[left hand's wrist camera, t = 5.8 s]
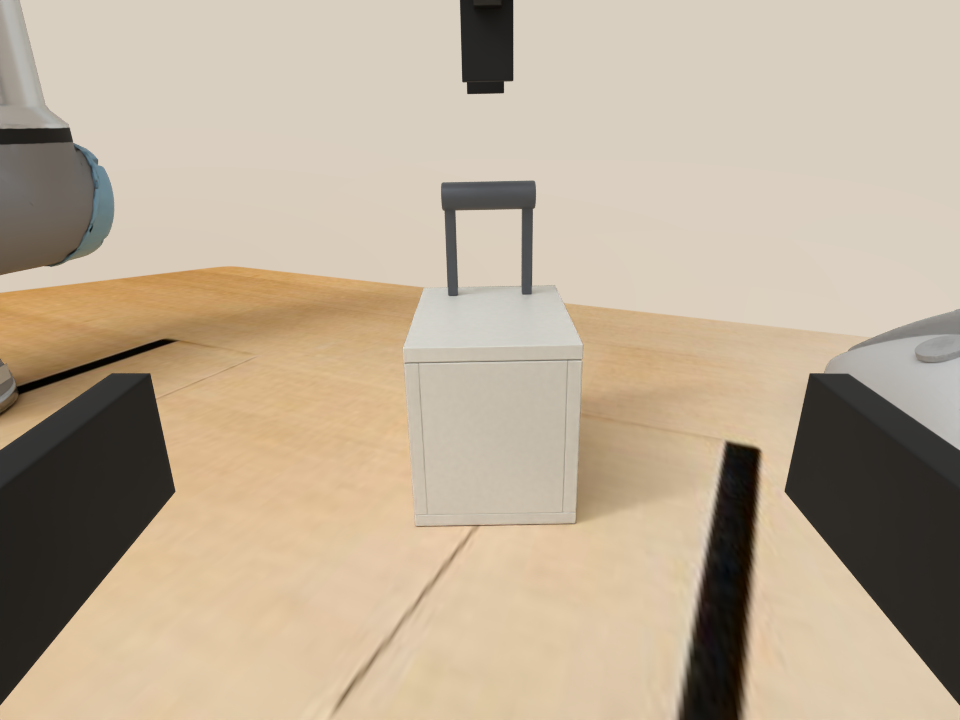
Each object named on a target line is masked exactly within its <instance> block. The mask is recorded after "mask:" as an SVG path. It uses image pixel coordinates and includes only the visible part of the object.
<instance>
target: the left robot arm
mask: <svg viewBox="0 0 960 720" xmlns="http://www.w3.org/2000/svg"><path fill="white" fill-rule="evenodd" d="M174 493H175V487H174V482H173V478H172V473H171V468H170V464H169V459H168V454H167V450H166V445H165V440H164V436H163V431H162V426H161V422H160V417H159V412H158V408H157V403H156V398H155V394H154V389H153V384H152V380H151V375H150V373H112V374H110V375H109V376H107V377H106V378H104V379H103V380H102V381H100V382H99V383H97V384H96V385H94V386H93V387H91V388H90V389H88V390H87V391H86V392H84V393H83V394H81V395H80V396H78V397H77V398H75V399H74V400H72V401H71V402H70V403H68V404H67V405H65V406H64V407H62V408H61V409H59V410H58V411H57V412H55V413H54V414H52V415H51V416H49V417H48V418H46V419H45V420H43V421H42V422H41V423H39V424H38V425H36V426H35V427H33V428H32V429H30V430H29V431H27V432H26V433H25V434H23V435H22V436H20V437H19V438H17V439H16V440H14V441H13V442H11V443H10V444H9V445H7V446H6V447H4V448H3V449H1V450H0V705H1V704H2V703H3V701H4V700H5V699H6V698H7V697H8V695H9V694H10V693H11V692H12V690H13V689H14V688H15V687H16V686H17V684H18V683H19V682H20V681H21V679H22V678H23V677H24V676H25V675H26V673H27V672H28V671H29V670H30V668H31V667H32V666H33V665H34V664H35V662H36V661H37V660H38V659H39V657H40V656H41V655H42V654H43V653H44V651H45V650H46V649H47V648H48V646H49V645H50V644H51V643H52V642H53V640H54V639H55V638H56V637H57V635H58V634H59V633H60V632H61V631H62V629H63V628H64V627H65V626H66V625H67V623H68V622H69V621H70V620H71V618H72V617H73V616H74V615H75V614H76V612H77V611H78V610H79V609H80V607H81V606H82V605H83V604H84V603H85V601H86V600H87V599H88V598H89V596H90V595H91V594H92V593H93V592H94V590H95V589H96V588H97V587H98V585H99V584H100V583H101V582H102V581H103V579H104V578H105V577H106V576H107V574H108V573H109V572H110V571H111V570H112V568H113V567H114V566H115V565H116V563H117V562H118V561H119V560H120V559H121V557H122V556H123V555H124V554H125V553H126V551H127V550H128V549H129V548H130V546H131V545H132V544H133V543H134V542H135V540H136V539H137V538H138V537H139V535H140V534H141V533H142V532H143V531H144V529H145V528H146V527H147V526H148V524H149V523H150V522H151V521H152V520H153V518H154V517H155V516H156V515H157V513H158V512H159V511H160V510H161V509H162V507H163V506H164V505H165V504H166V502H167V501H168V500H169V499H170V498H171V496H172V495H173V494H174ZM785 493H786V494H787V495H788V496H789V498H790V499H791V500H792V501H793V502H794V504H795V505H796V506H797V507H798V509H799V510H800V511H801V512H802V513H803V515H804V516H805V517H806V518H807V520H808V521H809V522H810V523H811V524H812V526H813V527H814V528H815V529H816V531H817V532H818V533H819V534H820V535H821V537H822V538H823V539H824V540H825V542H826V543H827V544H828V545H829V546H830V548H831V549H832V550H833V551H834V553H835V554H836V555H837V556H838V557H839V559H840V560H841V561H842V562H843V563H844V565H845V566H846V567H847V568H848V570H849V571H850V572H851V573H852V574H853V576H854V577H855V578H856V579H857V581H858V582H859V583H860V584H861V585H862V587H863V588H864V589H865V590H866V592H867V593H868V594H869V595H870V596H871V598H872V599H873V600H874V601H875V603H876V604H877V605H878V606H879V607H880V609H881V610H882V611H883V612H884V614H885V615H886V616H887V617H888V618H889V620H890V621H891V622H892V623H893V625H894V626H895V627H896V628H897V629H898V631H899V632H900V633H901V634H902V635H903V637H904V638H905V639H906V640H907V642H908V643H909V644H910V645H911V646H912V648H913V649H914V650H915V651H916V653H917V654H918V655H919V656H920V657H921V659H922V660H923V661H924V662H925V664H926V665H927V666H928V667H929V668H930V670H931V671H932V672H933V673H934V675H935V676H936V677H937V678H938V679H939V681H940V682H941V683H942V684H943V686H944V687H945V688H946V689H947V690H948V692H949V693H950V694H951V695H952V697H953V698H954V699H955V700H956V701H957V703H958V704H959V705H960V450H959V449H957V448H956V447H954V446H953V445H951V444H950V443H949V442H947V441H946V440H944V439H943V438H941V437H940V436H938V435H937V434H935V433H934V432H933V431H931V430H930V429H928V428H927V427H925V426H924V425H922V424H921V423H919V422H918V421H917V420H915V419H914V418H912V417H911V416H909V415H908V414H906V413H905V412H903V411H902V410H901V409H899V408H898V407H896V406H895V405H893V404H892V403H890V402H889V401H888V400H886V399H885V398H883V397H882V396H880V395H879V394H877V393H876V392H874V391H873V390H872V389H870V388H869V387H867V386H866V385H864V384H863V383H861V382H860V381H858V380H857V379H856V378H854V377H853V376H851V375H850V374H848V373H810V375H809V380H808V384H807V389H806V394H805V398H804V403H803V408H802V412H801V417H800V422H799V426H798V431H797V436H796V440H795V445H794V450H793V454H792V459H791V464H790V468H789V473H788V478H787V482H786V487H785Z"/></svg>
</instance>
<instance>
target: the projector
mask: <svg viewBox="0 0 960 720" xmlns="http://www.w3.org/2000/svg"><path fill="white" fill-rule="evenodd" d="M824 373H848V374H850V375H851V376H853V377H854V378H856V379H857V380H858V381H860V382H861V383H863V384H864V385H866V386H867V387H869V388H870V389H872V390H873V391H874V392H876V393H877V394H879V395H880V396H882V397H883V398H885V399H886V400H888V401H889V402H890V403H892V404H893V405H895V406H896V407H898V408H899V409H901V410H902V411H903V412H905V413H906V414H908V415H909V416H911V417H912V418H914V419H915V420H917V421H918V422H919V423H921V424H922V425H924V426H925V427H927V428H928V429H930V430H931V431H933V432H934V433H935V434H937V435H938V436H940V437H941V438H943V439H944V440H946V441H947V442H949V443H950V444H951V445H953V446H954V447H956V448H957V449H959V450H960V309H958V310H955V311H953V312H949V313H945V314H941V315H937V316H934V317H930V318H927V319H923V320H920V321H917V322H914V323H911V324H908V325H905V326H902V327H899V328H896V329H893V330H891V331H888V332H886V333H883V334H881V335H878V336H876V337H873V338H871V339H868V340H866V341H864V342H862V343H859V344H857V345H855V346H853V347H852V348H850V349H849V350H848V352H845V353H842V354H840V355H838V356H836V357H834V358H833V359H832V360H830V361H829V363H828V364H827V366H826V369H825V372H824Z"/></svg>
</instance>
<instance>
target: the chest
mask: <svg viewBox="0 0 960 720" xmlns="http://www.w3.org/2000/svg"><path fill="white" fill-rule="evenodd" d="M582 362H583V361H582V359H569V360H516V361H463V362H410V363H404V373H405V388H406V402H407V416H408V431H409V445H410V459H411V474H412V488H413V502H414V514H415V515H414V517H415V526H447V525H506V524H565V523H575V522H576V502H577V479H578V456H579V432H580V409H581V385H582Z"/></svg>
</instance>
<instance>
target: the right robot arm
mask: <svg viewBox="0 0 960 720" xmlns="http://www.w3.org/2000/svg"><path fill="white" fill-rule="evenodd" d="M460 14H461V50H462V82H467V94H490V93H504V81H513V0H460ZM113 217H114V197H113V191H112V187H111V183H110V180H109V177H108V175H107V173H106V171H105V169H104V168H103V167H102V166H98V159H97V158H96V157H95V156H94V155H93V154H92V153H91V152H90V151H89V150H87V149H86V148H83V147H81V146H79V145H77V144H74V143H73V140H72V136H71V132H70V128H69V124H67V123H66V122H65V121H63V120H62V119H61V118H59V117H58V116H57V115H55V114H54V113H53V112H51V111H50V110H49V109H48V107H47V106H46V105H45V101H44V97H43V93H42V89H41V85H40V81H39V77H38V73H37V69H36V65H35V61H34V57H33V53H32V49H31V45H30V41H29V37H28V33H27V29H26V24H25V21H24V16H23V12H22V8H21V4H20V0H0V275H3V274H7V273H12V272H17V271H22V270H27V269H32V268H37V267H41V266H50V267H52V266H57V265H60V264H63V263H65V262H66V261H68V260H72V259H76V258H80V257H83V256H86V255H89V254H91V253H92V252H94V251H95V250H97V249H98V248H99V247H100V246H101V245H102V243H103V240H104V239H105V238H106V237H107V236H108V234H109V232H110V229H111V226H112V223H113ZM18 395H19V394H18V389H17V386H16V383H15V380H14V377H13V376H12V374H11V372H10V370H9V369H8V366H7V363H6V364H5V365H4V363H3V362H2V361H1V359H0V413H1V412H3V411H4V410H6V409H7V408H8V407H10V406H11V405H12V404H13V403H14V402H15V401H16V399H17V398H18Z"/></svg>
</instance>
